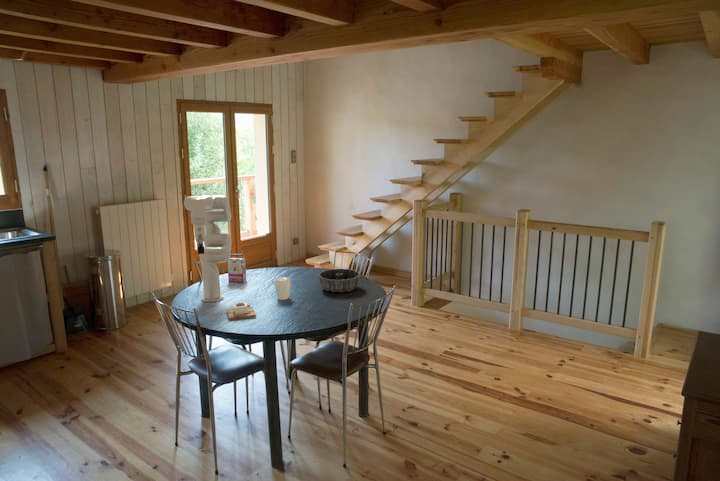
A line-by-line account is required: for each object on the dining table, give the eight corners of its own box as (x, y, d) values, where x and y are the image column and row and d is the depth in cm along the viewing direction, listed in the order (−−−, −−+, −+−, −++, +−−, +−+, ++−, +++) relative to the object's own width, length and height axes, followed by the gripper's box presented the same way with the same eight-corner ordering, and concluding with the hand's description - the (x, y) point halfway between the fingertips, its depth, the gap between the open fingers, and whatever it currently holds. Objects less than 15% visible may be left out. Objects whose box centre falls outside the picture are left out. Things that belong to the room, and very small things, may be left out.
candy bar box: (247, 281, 334) (245, 258, 331) (243, 283, 330) (241, 259, 326) (232, 280, 337) (230, 257, 334) (228, 282, 333) (226, 258, 330)
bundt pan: (360, 295, 302) (359, 279, 300) (316, 295, 303) (316, 279, 301) (360, 283, 328) (360, 268, 326) (320, 283, 329) (320, 268, 327)
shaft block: (226, 312, 274) (226, 301, 273) (252, 309, 279) (251, 298, 277) (229, 320, 261) (228, 308, 260) (256, 317, 266) (255, 305, 264)
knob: (235, 314, 266) (234, 307, 265) (234, 311, 272) (233, 304, 271) (251, 312, 268) (250, 305, 268) (249, 308, 274) (249, 301, 273)
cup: (276, 301, 293) (275, 281, 291) (275, 296, 302) (274, 277, 299) (291, 299, 295) (290, 280, 292) (290, 295, 303) (289, 276, 301)
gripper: (206, 222, 261) (208, 254, 265) (205, 218, 277) (207, 248, 281) (191, 223, 259) (194, 255, 262) (190, 219, 275) (193, 249, 278)
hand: (200, 251), depth 271 cm, fingers open, 9 cm apart
